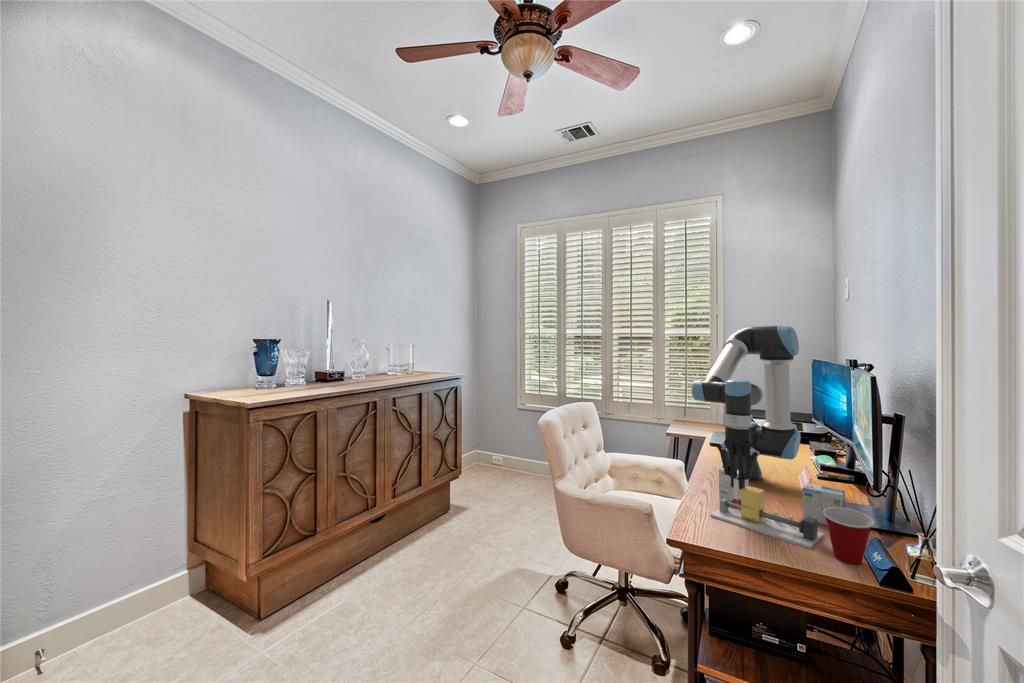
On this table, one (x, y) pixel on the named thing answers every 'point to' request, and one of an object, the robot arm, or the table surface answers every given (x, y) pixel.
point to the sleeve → (752, 503)
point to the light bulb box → (821, 501)
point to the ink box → (727, 487)
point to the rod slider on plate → (772, 525)
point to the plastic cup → (848, 533)
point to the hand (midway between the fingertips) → (737, 498)
